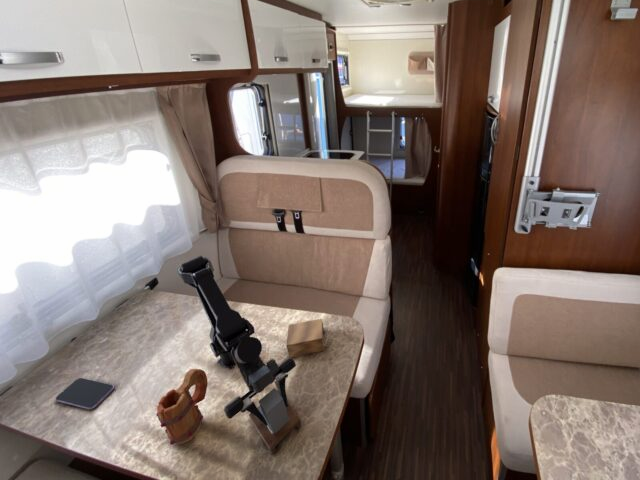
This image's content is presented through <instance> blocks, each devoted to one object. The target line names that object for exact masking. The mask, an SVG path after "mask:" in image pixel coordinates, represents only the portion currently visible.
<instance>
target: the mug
mask: <svg viewBox="0 0 640 480" xmlns="http://www.w3.org/2000/svg"><path fill="white" fill-rule="evenodd" d="M208 383H209V382H208V376H207V373H206V371H205V370H203V369H201V368H190V369H188V371H187V372H186V374H185V375H184V378H183V380H182V382H181V384H180V386H179V387H178V388H177V389H171V390H169V391H168V392H167V393H166V394H165V395H164V396H162V397H161V398H160V400H159V402H158V405H157V407H156V410H157V412H156V413H155V416H156V417H157V419H158V421H159V423H160V427H161V428H165V430H164V432H165V434H166V436H167V438H168V439H169V445H172V446H173V445H184V444H185V443H187V442H188V441H190V440H192V439H193V437H195V435H196V434H197V433H198V432H199V430H200V428H201V425H202V420H203V419H204V415H203V413H202V411H201V410H200V408H199V405H198V404H199V403H201V402H202V401H204V400H205V399H206V395H207V390H208V385H209V384H208ZM192 387H194V391H193V394H191V393H190V390H191V388H192Z"/></svg>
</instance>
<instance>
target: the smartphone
mask: <svg viewBox="0 0 640 480" xmlns="http://www.w3.org/2000/svg"><path fill="white" fill-rule="evenodd" d="M114 390H115V385H114V384H110V383H106V382H101V381H97V380H93V379H88V378H84V377H78V378H76V379H75V380H74V381H72V383H70V384H69V385H68V386H67V387H66V388H64V389H63V390H62V391H61V392H60V393H58V395H56V397H55V399H54V400H55V402H58V403H61V404H62V403H63V404H66V405H70V406H74V407H79V408H82V409H85V410H89V411H90V410H94V409H96V408H97V406H99V404H101V403H102V402H103V401H104V400H105V399H106V398H107V397H108V396H109V395H110V394H111V393H112V392H113V391H114Z"/></svg>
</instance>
